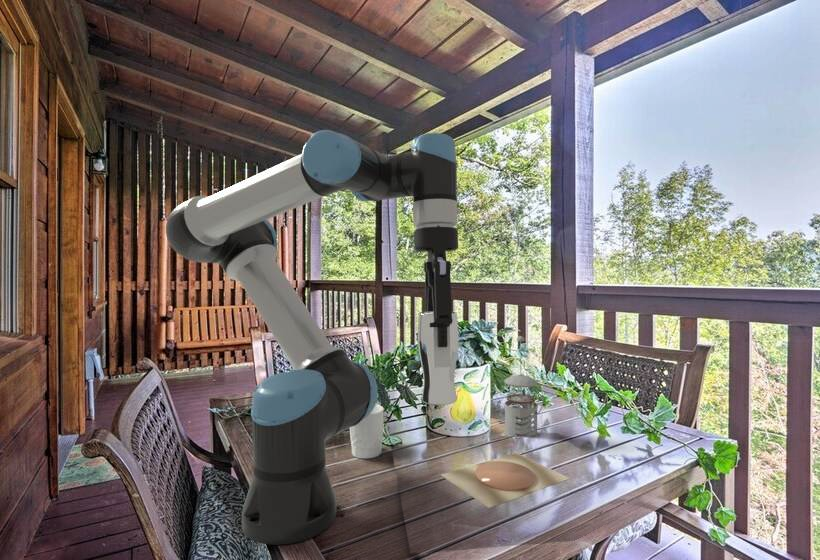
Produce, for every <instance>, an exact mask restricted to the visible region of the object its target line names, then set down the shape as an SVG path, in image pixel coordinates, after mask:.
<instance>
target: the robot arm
mask: <svg viewBox="0 0 820 560" xmlns="http://www.w3.org/2000/svg"><path fill="white" fill-rule="evenodd" d="M410 148H411V151H408V152H404V153H399V154H398V153H397V154H390V155H385V154H383V153H381V152H379V151H377V150H375V149H374V148H373V149H372V148H371V147H369V146H367V145H365V144H362V143H361V142H358V141H356V140H354V139H353V138H352V137H350V136H348V135H346V134H344V133H340V132H336V131H333V130H330V129H322V130H318V131H316V132H313V134H312V135H310V138H309V139H308V141H306V142H305V143H304V145H303V149H302V153H300V154H298V155H296V156H294V157H292V158H289V159H287V160H286V161H283V162H281V163H279V164H276V165H274V166H272V167H270V168H268V169H266V170H264V171H262V172H259V173H257V174H254V175H253V176H251V177H249V178H247V179H245V180H242V181H241V182H240V181H239V182H238V183H236V184H233V185H232V186H230V187H227V188H225V189H223V190H221V191H219V192H217V193H214V194H212V195H209V196H206V195H197V196H194V197H192V198H189V199H188V200H186V201H183V202H182V203H180V204H179V205H177V206H176V207H175V208H174V209H173V210H172V211H171V212H170V214H169V216H168V218H167V220H166V224H165V234H166V235H165V236H166V238H167V240H168V243H169V245H170V247H171V248H172V250H174V252H175V253H177V254H178V255H179V256H180V257H182V258H185V260H189V261H191V262H195V263H203V264H207V263H208V264H219V265H220V266H221V268H222V269H223V271H224V273H225V274H226V276H227V278H229V279H230V280H233V281H237V282H239V283H240V284H241V286H242V287H243V289H244V291H245V292H246V293H247V296H248V297H249V299H250V300H251V302H252V304H253V305H254V307H255V308H256V310H257V311H258V313H259V315H260V317H261V319H263V322H264V323H265V325H266V327H267V328H268V330H269V332H270V333H271V335H272V337H273V338H274V339H275V342H277V344H278V346H279V348H281V351H282V352H283V354H284V355H285V357H286V358H287V360H288V362H289V363H290V365H291V367H292V369H293V370H290V371H282V372H279V373H275V374H273V375H270V376H267V377H266V378H264V379H262V380H261V381H260V382H259V383H258V384H257V385H256V386H255V388H254V390H253V393H252V404H251V408H250V409H251V410H250V416H251V434H252V435H251V438H252V439H251V440H252V478H251V481H250V484H249V487H248V492H247V494H246V497H245V501H244V504H243V506H242V510H241V530H242V532H243V534H244V535H245V536H246V537H247V538H248V539H249V540H252V541H254V542H256V543H259V544H263V545H271V546H272V545H275V546H277V545H278V546H281V545H289V544H294V543H299V542H302V541H306V540H309V539H312V538H314V537H315V536H317V535H319V534H321V533H323V532H324V531H325V530H327V529H328V528H329V527H330V526H331V525H332V524H333V522H335V519H336V517H337V512H338V511H337V497H336V493H335V491H334V488H333V484H332V481H331V479H330V475H329V473H328V470H327V467H326V441H327V440H329V439H331V438H333V437H334V436H336V435H338V434H340V433H342V432H344V431H346V430H348V429H350V427H352V426H355V425H357V424H358V423H359V422H361V421H362V420H363V419H364V418H366V417H367V416H368V415H369V414H370V413H371V412H372V410H373V409H374V407H375V404H376V403H377V399H378V398H377V397H378V384H377V381H376V377H375V375H374V374H373V372H372V371H371V370H370V369H369V367H368V366H366V365H365V364H363V363H359V362H356V361H351V359H350V357H349V356H348V354H347V353H346V352H345V350H344V349H343V348H342V347H336V346H332V344H331V343H330V341H329V340H328V339H327V336H326V335H325V333H324V331H322V329H321V327H320V326H319V325H318V323H317V321H316V320H315V318H314V317H313V315H312V314H311V313H310V311H309V309H308V308H307V307H306V304H304V302H303V301H302V298H301V297H300V296H299V294H298V292H297V291H296V290H295V288H294V286H293V285H292V284H291V282H290V280H289V279H288V277H287V275H286V274H285V273H284V271H283V270H282V268H281V267H280V265H279V264H278V263H277V261H276V260H277V257H278V250H277V248H278V242H276V239H278V236H277V232H276V230H275V228H274V227H273V224H271V222H270V221H268V220H269V219H271V218H274V217H276V216H280V215H282V214H285V213H287V212H289V211H291V210H294V209H296V208H298V207H302V206H304V205H306V204H308V203H311V202H313V201H316V200H319V199H321V198H324V197H326V196H330V195H332V194H334V193H337V192H339V191H342V190H347V191H348V190H349V191H350V192H351V194H352V195H354V196H355V198H356V199H357V200H358V201H361V202H374V203H375V202H379V201H384V200H391V199H392V200H393V199H400V198H406V197H412V199H413V202H412V211H413V212H412V215H413V217H412V218H413V219H412V220H413V221H412V222H413V226H414V227H415V228H416V229H415V230H414V231H413V246H414V247H413V248H414V250H415V251H416V252H419V253H420V252H421V253H424V252H425V253H427V261H426V262H424V263H423V270H424V285H425V289H424V290H425V292H424V293H425V297H424V298H425V312H426V311H433V315H434V322H433V323H430V327H433V367H434V368H435V367H451V362H450V324H452V321H453V319H452V309H453V308H452V287H451V286H452V283H451V270H452V269H451V268H452V263H451V261H450V260H447V254H446V253H447V252H454V251H456V250H458V249H459V230H458V229H457V228H456V227H455V226H457V225H458V215H459V214H461V210H462V209H461V208H459V207H458V194H457V193H458V188H457V187H458V185H457V184H458V181H457V179H458V171H457V170H458V162H457V151H456V142H455V140H454V139H453V138H452V137H451V136H450V135H448V134H445V133H440V132H430V133H429V132H427V133H423V134H420V135H419V136H418V135H417V136H416V137H414V138H413V140H412V142H411V147H410ZM376 405H377V404H376Z"/></svg>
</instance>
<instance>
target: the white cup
mask: <svg viewBox="0 0 820 560" xmlns="http://www.w3.org/2000/svg"><path fill="white" fill-rule="evenodd" d="M383 432H384V407H383V406H382V405H379V404H375V407H374V409H373V410H372V412H371V413H370V414H369V415H368V416H367V417H366V418H364V419H363V420H362V421H361V422H359V423H358V424H357V425H355V426H352V427H349V437H350V444H351V445H350V446H351V455H352V456H353V457H355V458H358V459H362V460H363V459H367V460H368V459H374V458H376V457H379V456H380V455H381V454H382V452H383V451H382V447H383V445H382V444H383V443H382V441H383V435H384V433H383Z"/></svg>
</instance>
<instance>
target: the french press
mask: <svg viewBox="0 0 820 560" xmlns="http://www.w3.org/2000/svg"><path fill="white" fill-rule="evenodd" d="M516 342H519V345H520V346H519V348H520V350H519V352H520V353H519V355H520V357H519V358H520V359H519V360H520V364H519V366H520V368H519V372H520V373H519V374H513V375H510V376H509V377H507V378H506V379H504V384H506V385H507V386H508V387H509V386H510V387H513V388H524V389H525V388H526V389H527V388H529V390H530V392H536V393H537V397H536V396H535V397H534V396H533V395H531V394H524V393H511V394H507V396H506V397H505V398H506V401H505V402H504V418H505V419H504V428H505V429H504V431H503V432H502V433H501V434H500V436H501V437H506V436H509V437H510V436H516V437H518V436H521V438H522V437H525V438H526V437H534V436H536V435H539V433H538V415H539V414H540V412H541V411H542V410H543V406H544V401H545V400H544V399H545V398H544V392H543V390H542V388H541V387H539V386H538V384H539V382H538V381H537V380H536V379H535V378H533V377H531V376H529V375H524V374H522V342H525V337H524V336H522V335H519V336H517V337H516ZM533 387H534V389H532V388H533ZM538 389H539V391H540V392H541V396H542V404H541V408H540V409H539V410H538V406H539V401H540V393H539V391H538ZM536 398H537V399H536ZM536 400H537V401H536ZM535 401H536V402H537V403H536V402H535ZM532 403H533V407H532ZM514 404H515V405H514ZM512 405H513V406H512ZM516 405H517V406H516ZM518 405H519V406H518ZM520 406H521V407H520Z"/></svg>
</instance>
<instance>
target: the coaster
mask: <svg viewBox="0 0 820 560" xmlns="http://www.w3.org/2000/svg"><path fill="white" fill-rule="evenodd" d="M476 478H477V480H478V481H479V482H481V483H482V484H484V485H486V486H488V487H490V488H494V489H498V490H505V491H517V490H523V489H526V488H528V487H530V486H532V485H533V483H534V474H533V472H532V471H531V470H530V469H528V468H527V467H525V466H522V465H520V464H517V463H512V462H506V461H493V462H487V463H484V464H481V465H480V466H478V467H477V469H476Z"/></svg>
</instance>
